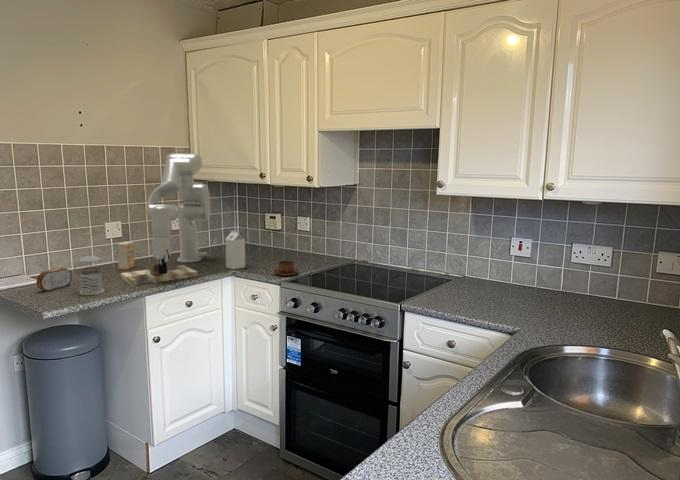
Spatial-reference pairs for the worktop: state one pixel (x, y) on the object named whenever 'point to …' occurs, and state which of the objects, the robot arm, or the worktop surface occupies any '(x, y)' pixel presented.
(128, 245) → the supplement box
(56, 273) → the brown grey rounded block
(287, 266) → the cup and saucer
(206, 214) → the robot arm
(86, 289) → the french press
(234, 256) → the milk carton
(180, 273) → the trap board
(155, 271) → the walnut block
